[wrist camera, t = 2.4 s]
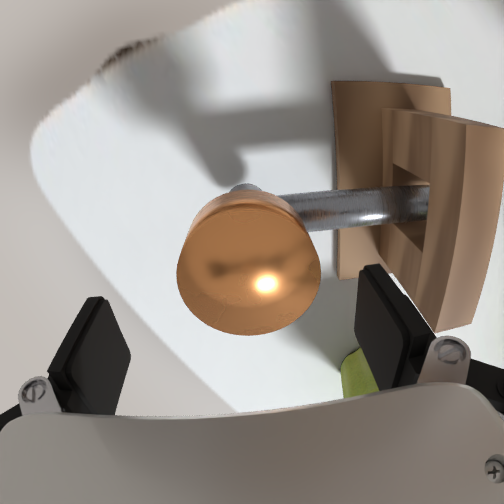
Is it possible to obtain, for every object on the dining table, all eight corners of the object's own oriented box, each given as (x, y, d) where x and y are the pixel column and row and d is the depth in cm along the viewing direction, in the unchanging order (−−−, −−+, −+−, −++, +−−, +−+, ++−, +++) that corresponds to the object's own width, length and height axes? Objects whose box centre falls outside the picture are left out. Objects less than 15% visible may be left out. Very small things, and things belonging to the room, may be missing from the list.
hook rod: (449, 150, 21) (540, 191, 12) (443, 221, 23) (518, 286, 14) (195, 166, 21) (162, 222, 12) (209, 246, 24) (193, 340, 15)
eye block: (444, 87, 20) (543, 100, 10) (434, 261, 27) (497, 334, 17) (330, 81, 20) (400, 73, 10) (337, 275, 28) (378, 367, 18)
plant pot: (333, 333, 31) (355, 401, 23) (414, 326, 31) (448, 384, 23) (319, 391, 35) (332, 453, 27) (390, 383, 35) (412, 438, 28)
